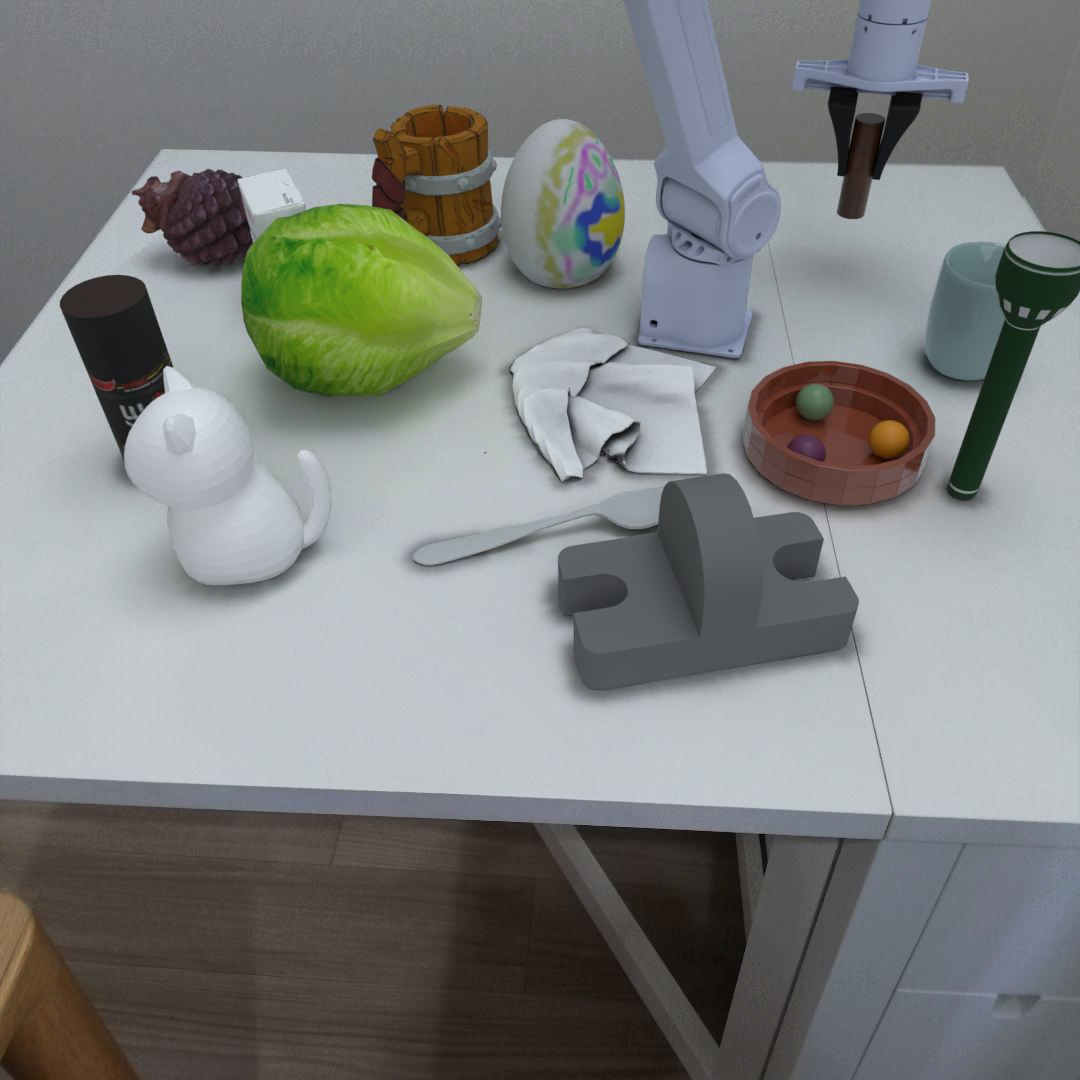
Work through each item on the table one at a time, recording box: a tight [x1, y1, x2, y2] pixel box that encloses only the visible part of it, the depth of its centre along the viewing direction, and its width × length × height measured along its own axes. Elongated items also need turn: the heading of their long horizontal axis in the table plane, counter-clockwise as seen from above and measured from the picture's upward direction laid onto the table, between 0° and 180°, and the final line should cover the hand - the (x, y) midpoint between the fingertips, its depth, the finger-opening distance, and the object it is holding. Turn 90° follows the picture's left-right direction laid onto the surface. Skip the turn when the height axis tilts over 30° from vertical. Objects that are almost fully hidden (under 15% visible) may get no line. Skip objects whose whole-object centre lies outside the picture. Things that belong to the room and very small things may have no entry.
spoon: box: [412, 486, 664, 566], centre depth 72 cm, size 4×21×2 cm, turn 104°
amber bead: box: [869, 420, 909, 459], centre depth 76 cm, size 3×3×3 cm
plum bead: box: [787, 434, 826, 462], centre depth 75 cm, size 3×3×3 cm
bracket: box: [557, 472, 860, 691], centre depth 63 cm, size 10×18×11 cm, turn 101°
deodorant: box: [59, 274, 175, 460], centre depth 75 cm, size 6×6×15 cm
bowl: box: [742, 360, 936, 506], centre depth 77 cm, size 14×14×4 cm
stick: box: [836, 112, 886, 220], centre depth 91 cm, size 3×3×9 cm
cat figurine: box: [123, 366, 333, 586], centre depth 66 cm, size 9×12×15 cm
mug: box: [371, 104, 502, 266], centre depth 99 cm, size 11×16×15 cm, turn 148°
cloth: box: [508, 327, 717, 482], centre depth 82 cm, size 20×22×2 cm
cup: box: [924, 241, 1007, 382], centre depth 83 cm, size 8×8×10 cm
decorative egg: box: [500, 118, 626, 289], centre depth 95 cm, size 12×12×15 cm
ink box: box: [238, 168, 307, 243], centre depth 93 cm, size 8×5×12 cm, turn 23°
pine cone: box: [131, 168, 253, 268], centre depth 102 cm, size 18×10×10 cm
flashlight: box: [947, 230, 1080, 501], centre depth 68 cm, size 5×5×20 cm
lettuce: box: [240, 203, 483, 398], centre depth 82 cm, size 17×20×15 cm
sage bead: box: [796, 384, 834, 421], centre depth 80 cm, size 3×3×3 cm
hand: (859, 173), depth 91 cm, fingers closed on stick, 2 cm apart
